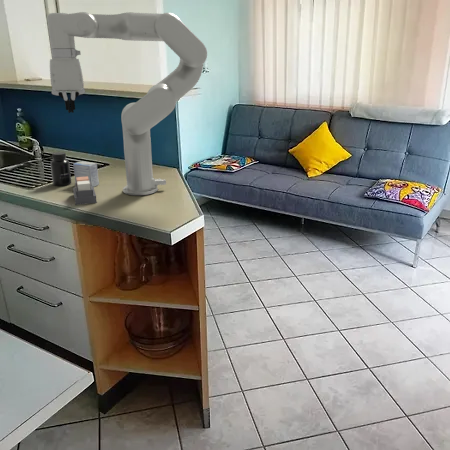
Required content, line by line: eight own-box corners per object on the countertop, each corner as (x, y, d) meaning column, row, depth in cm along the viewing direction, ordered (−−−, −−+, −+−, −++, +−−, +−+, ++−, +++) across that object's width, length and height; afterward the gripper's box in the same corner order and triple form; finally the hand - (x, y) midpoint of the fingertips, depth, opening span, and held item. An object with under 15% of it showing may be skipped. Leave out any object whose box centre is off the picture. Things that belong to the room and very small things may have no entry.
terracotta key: (88, 184, 169) (87, 176, 168) (89, 187, 166) (88, 179, 165) (77, 185, 168) (76, 177, 167) (77, 188, 164) (76, 180, 163)
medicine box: (99, 185, 181) (97, 163, 178) (92, 188, 178) (89, 165, 175) (83, 182, 184) (80, 161, 181) (75, 185, 181) (72, 163, 178)
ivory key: (89, 188, 164) (89, 180, 163) (90, 191, 161) (89, 183, 160) (78, 189, 163) (77, 181, 162) (78, 193, 160) (77, 184, 158)
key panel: (93, 192, 172) (92, 180, 170) (96, 202, 161) (95, 190, 160) (73, 194, 170) (72, 182, 168) (75, 204, 159) (73, 192, 158)
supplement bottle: (66, 186, 179) (62, 155, 175) (49, 185, 180) (45, 155, 176) (75, 182, 185) (71, 151, 181) (59, 181, 186) (55, 151, 182)
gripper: (86, 54, 159) (92, 109, 165) (39, 54, 154) (47, 111, 161) (88, 54, 152) (94, 112, 159) (39, 55, 147) (47, 114, 154)
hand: (70, 112), depth 160 cm, fingers closed
